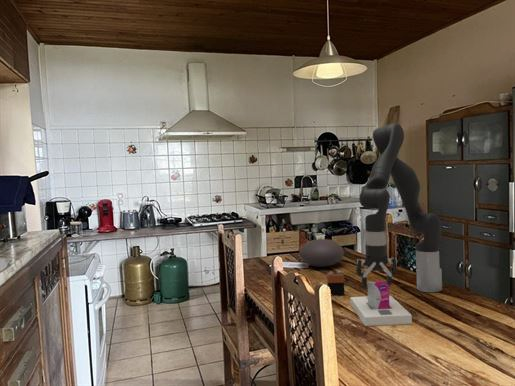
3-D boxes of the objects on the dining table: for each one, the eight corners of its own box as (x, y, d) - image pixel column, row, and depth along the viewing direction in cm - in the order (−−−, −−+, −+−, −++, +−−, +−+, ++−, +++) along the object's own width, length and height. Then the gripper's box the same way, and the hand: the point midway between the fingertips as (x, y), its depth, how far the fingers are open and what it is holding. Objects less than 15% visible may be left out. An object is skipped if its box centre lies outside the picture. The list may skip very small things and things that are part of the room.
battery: (344, 295, 169) (343, 272, 169) (328, 296, 170) (327, 273, 169) (343, 292, 173) (342, 270, 173) (327, 292, 174) (326, 270, 173)
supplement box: (376, 317, 143) (375, 286, 142) (367, 312, 149) (366, 282, 148) (390, 315, 144) (389, 284, 144) (381, 309, 150) (380, 280, 149)
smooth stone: (291, 264, 229) (290, 239, 229) (327, 258, 240) (326, 234, 239) (315, 273, 207) (314, 245, 206) (353, 266, 217) (352, 239, 217)
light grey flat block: (390, 302, 157) (390, 294, 157) (411, 323, 135) (411, 314, 135) (350, 304, 157) (350, 296, 157) (365, 326, 136) (364, 316, 135)
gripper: (391, 240, 149) (392, 283, 150) (353, 242, 149) (355, 284, 150) (398, 244, 141) (399, 288, 142) (358, 245, 142) (359, 290, 142)
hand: (376, 286), depth 146 cm, fingers open, 8 cm apart
